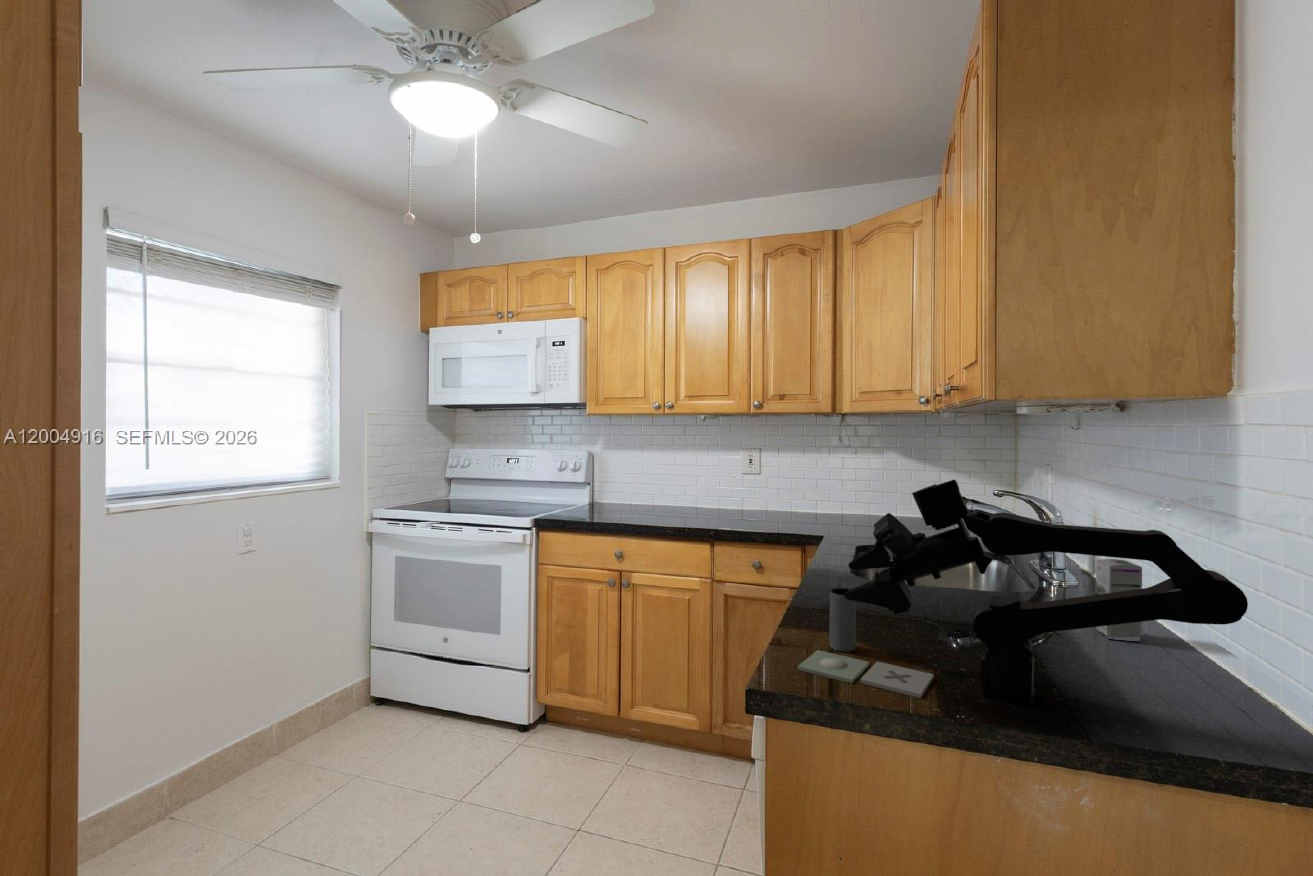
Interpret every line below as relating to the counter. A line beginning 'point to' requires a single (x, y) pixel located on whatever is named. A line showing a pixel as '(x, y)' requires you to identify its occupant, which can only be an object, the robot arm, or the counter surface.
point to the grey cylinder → (842, 621)
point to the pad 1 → (833, 666)
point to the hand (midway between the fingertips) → (847, 581)
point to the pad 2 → (897, 679)
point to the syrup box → (1118, 590)
